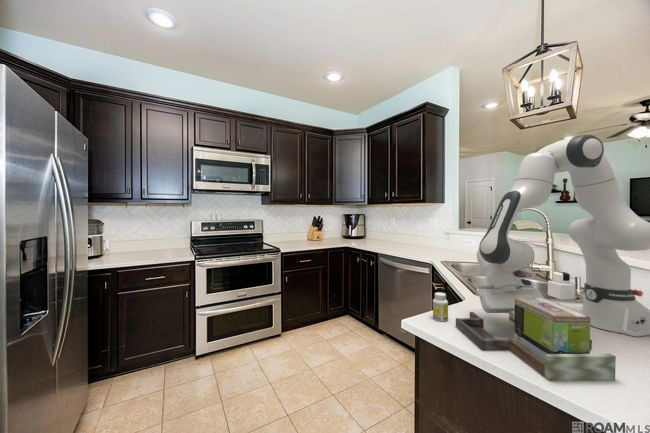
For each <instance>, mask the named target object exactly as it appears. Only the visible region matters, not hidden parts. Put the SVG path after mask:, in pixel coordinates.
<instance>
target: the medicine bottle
mask: <svg viewBox="0 0 650 433" xmlns="http://www.w3.org/2000/svg"><path fill="white" fill-rule="evenodd" d="M570 278H571V274H569V273H567V272H564V271H553V273H552V280H548V281H547V296H549V297H552V298H554V299H557V300H561V301H563V300H564V301H565V300H566V301H567V300H568V301H569V300H570V301H571V300H576V284H574V283H571V282H570V281H571V279H570Z"/></svg>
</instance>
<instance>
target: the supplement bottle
mask: <svg viewBox="0 0 650 433" xmlns="http://www.w3.org/2000/svg"><path fill="white" fill-rule="evenodd" d="M432 318H433V319H434V320H435V321H437V322H446V321H448V320H449V301H448V300H447V295H446V293H445V292H435V293H434V298H433V299H432Z"/></svg>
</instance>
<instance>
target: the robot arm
mask: <svg viewBox="0 0 650 433" xmlns="http://www.w3.org/2000/svg"><path fill="white" fill-rule="evenodd" d="M604 148H605V147H604V143H603V142H602V141H601V139H599V138H598V137H597V136H595V135H594V134H593V135H592V134H582V135H576V136H574V137H570V138H565V139H561V140H558V141H556V142H554V143H551V144H548V145H546V146H542V147H539V148H538V149H536V150H534V151H533V152H531V153H529V154H527V155H526V156H524V158H523V159H522V161H521V163H520V164H519V167H518V169H517V171H516V175H515V177H514V180H513V184H512V186H511V189H510V190H509V191H508V192H506V193H505V194H504V195H503V196H502V198H501V200H500V202H499V204H498V206H497V208H496V211H495V213H494V215H493V218H492V220H491V222H490V224H489V226H488V228H487V231H486V233H485V235H484V236H483V238H481V240H480V242H479V246H478V249H477V251H476V261H477V264H478V265H479V267H480V269H481V272H482V273H483V275H484V277H485V278H486V282H487V284H488V285H486V286H484V285H480V286H478V287H477V288H476V293H477V295H478V297H479V299H480V300H479V302H480V304H481V307H482V310H483V312H485V313H486V314H508V317H509V316H510V317H511V318H513V319H514V320H515V298H545V297H544V296H543V294H542V293H541V292H540V291H539V290H538V289H537V288H535V283H534V281H532V280H529V279H526V278H523V277H518V276H516V275H515V274H514V272H518V271H520V270H523V269H526V268H528V267H529V266H530V265H532V264H533V262H534V259H535V251H534V249H533V248H532V246H531V245H530V244H527V243H525V242H522V241H520V240H516V239H512V238H510V237H509V234H510V231H511V229H512V226H513V224H514V222H515V218H516V217H517V215H518V213H519V212H521V211H523V210H526V209H533V208H536V207H539V206H542V205H543V204H545V203H546V202H547V201H548V200H549V198H550V196H551V193H552V189H553V186H554V182H555V176H556V173H557V174H558V173H564V172H568V174H569V176H570V182H571V186H572V189H573V193H574V196H575V199H576V202H577V205H578V207H579V208H581V209H582V210H583V211H586V212H587V213H588V214H590V216H592V217H585V218H580V219H579V218H578V219H575V220H574V221H572V222H571V223H570V225H569V227H568V235H569V237H570V238H571V240H572V241H573V242H575V243H576V245H577V246H578V248H579V249H580V251H581V253H582V255H583V259H584V263H585V283H584V285H583V292H584V297H583V302H582V308H581V311H580V312H581V313H584V314H586V315H588V316H590V327H594V328H598V329H601V330H605V331H609V332H614V333H619V334H623V335H627V336H632V337H637V338H638V337H644V336H645V337H646V336H650V309H649V308H648V307H647V306H645V305H643V304H642V303H641V302H639V301H638V300H637V299H636V296H637V297H642V296H644V292H643V291H642V290H638V289H632V288H631V284H632V283H631V278H632V277H631V276H632V274H631V273H632V272H631V271H632V269H631V267H630V265H629V263H627V262H625V261H624V260H623V259H622V258H621V257H620V256H619V254H618V252H617V250H619V251H624V252H631V251H632V252H633V251H634V252H635V251H636V252H637V251H638V252H639V251H647V250H650V222H649V221H647V220H645V219H643V218H641V217H640V216H639V215H637V214H636V213H635V212H634V211H633V210H632V209H631V207H629V205H628V204H627V203H626V202H625V200H624V197H623V196H622V193H621V192H620V188H619V185H618V182H617V179H616V176H615V173H614V170H613V168H612V165H611V164H610V162H609V160H608V159H607V156H606V155H605V154H604V152H605V150H604Z"/></svg>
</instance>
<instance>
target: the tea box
mask: <svg viewBox="0 0 650 433" xmlns="http://www.w3.org/2000/svg"><path fill="white" fill-rule="evenodd" d="M581 312H582V311H578V310H576V309H573V308H571V307H568V306H566V305H563V304H561V303H558V302H555V301H554V300H550V299H547V298H545V297H544V298H515V323H514V334H513V335H514V336H513V337H514V339H513V340H514V341H515V342H516V343H518V344H519V345H521V346H522V347H524V348H525V349H526V350H528V351H529V352H531V353H532V354H534V355H535V356H536V357H538V358H539V359H541V360H542V361H544V362H545V354H591V350H590V340H591V325H590V316H588V315H586V314H584V313H581Z"/></svg>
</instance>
